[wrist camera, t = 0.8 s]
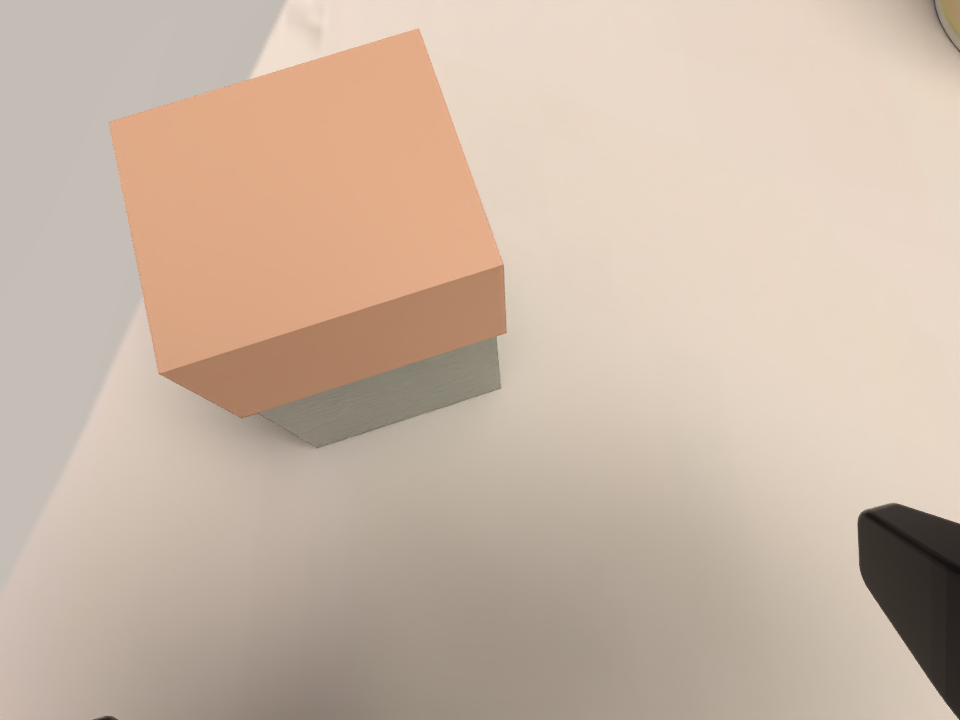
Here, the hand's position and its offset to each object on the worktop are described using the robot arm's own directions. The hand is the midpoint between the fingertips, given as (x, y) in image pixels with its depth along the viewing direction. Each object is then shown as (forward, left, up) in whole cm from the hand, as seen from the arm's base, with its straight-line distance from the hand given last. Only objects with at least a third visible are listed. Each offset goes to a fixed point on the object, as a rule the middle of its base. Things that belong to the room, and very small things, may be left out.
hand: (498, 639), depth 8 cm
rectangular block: (+7, +4, -7) cm, 11 cm away
